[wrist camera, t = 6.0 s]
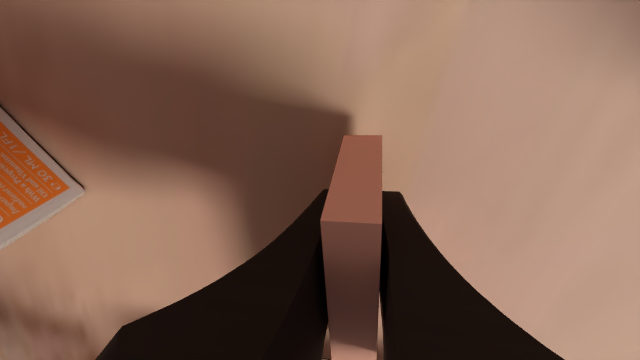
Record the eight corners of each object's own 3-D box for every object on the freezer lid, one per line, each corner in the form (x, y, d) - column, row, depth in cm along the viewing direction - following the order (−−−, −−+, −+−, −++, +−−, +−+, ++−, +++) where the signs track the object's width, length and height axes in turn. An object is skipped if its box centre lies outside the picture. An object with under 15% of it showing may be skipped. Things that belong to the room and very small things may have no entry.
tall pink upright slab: (382, 135, 10) (381, 223, 6) (374, 357, 16) (371, 474, 12) (343, 135, 10) (320, 220, 6) (350, 354, 16) (340, 467, 12)
